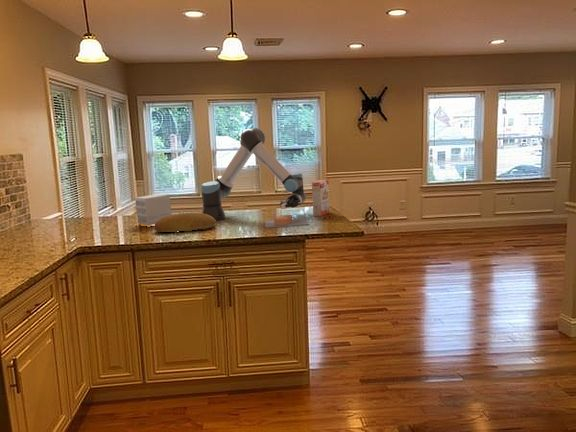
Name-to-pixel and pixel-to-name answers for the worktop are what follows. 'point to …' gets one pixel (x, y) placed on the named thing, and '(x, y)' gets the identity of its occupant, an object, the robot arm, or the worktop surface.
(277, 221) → the deck
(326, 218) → the worktop surface
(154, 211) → the supplement box
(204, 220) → the bread
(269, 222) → the mat
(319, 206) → the cracker box
